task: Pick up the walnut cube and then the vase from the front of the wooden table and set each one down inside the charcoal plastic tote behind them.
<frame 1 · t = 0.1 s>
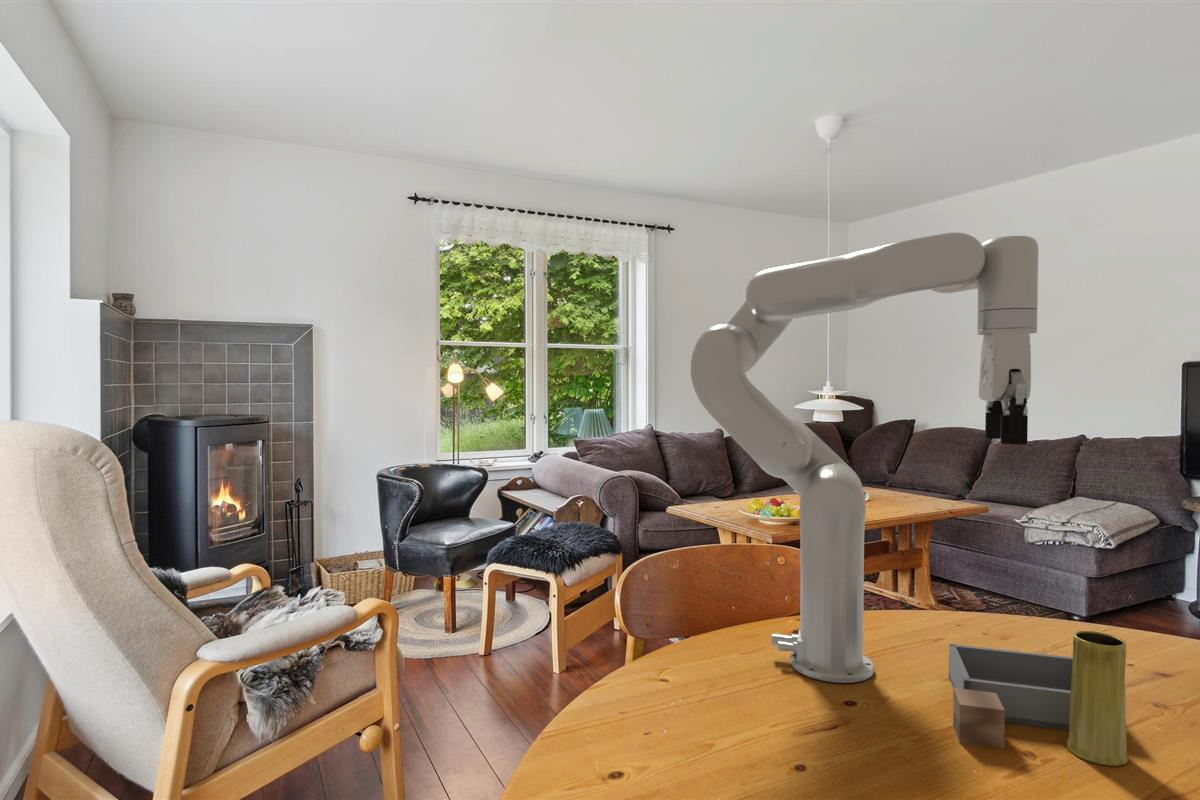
hand: (1005, 441, 102), 37 cm above the table, tool pointing down, fingers open, 9 cm apart
tote: (1025, 703, 98), on the table
vase: (1096, 755, 86), on the table
walnut cube: (977, 737, 90), on the table
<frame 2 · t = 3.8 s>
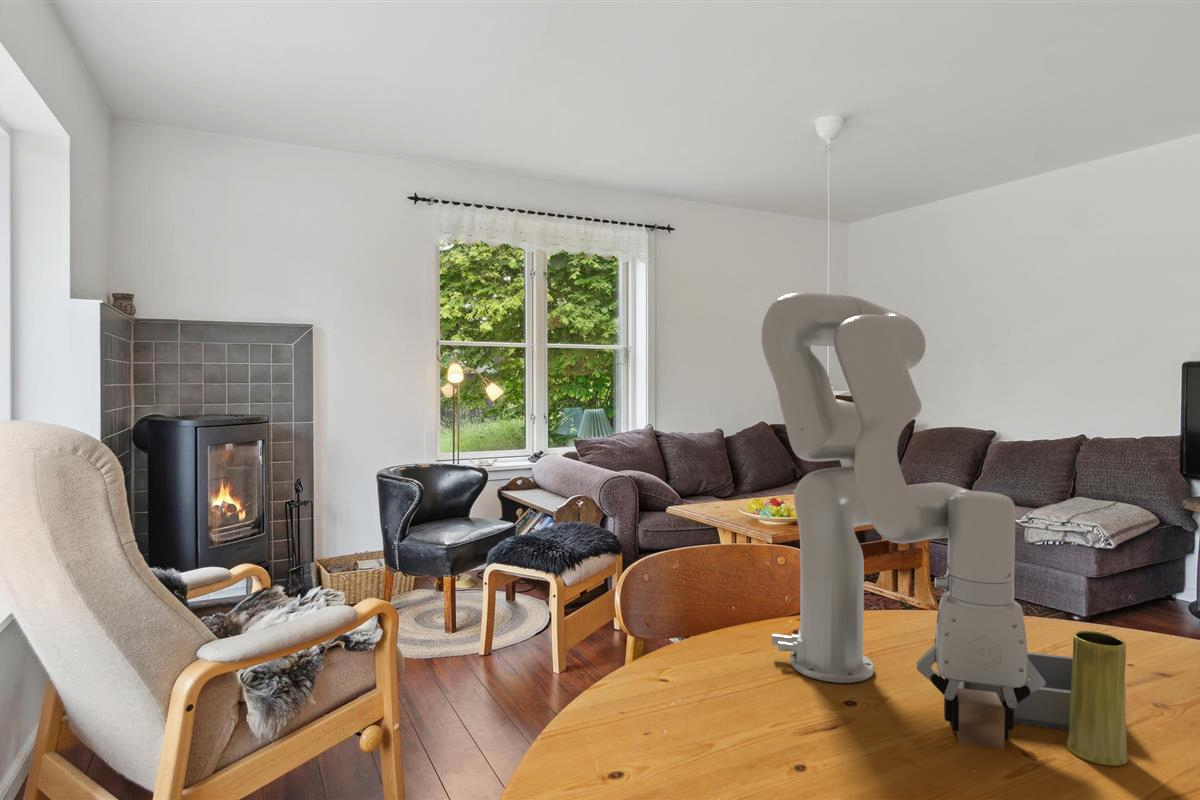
hand: (977, 728, 90), 1 cm above the table, tool pointing down, fingers closed on walnut cube, 5 cm apart
walnut cube: (977, 736, 90), on the table, touching gripper
everything else where it was.
when the fingers open (4 cm above the table, at t = 9.2 s): walnut cube drops 3 cm, resting on tote.
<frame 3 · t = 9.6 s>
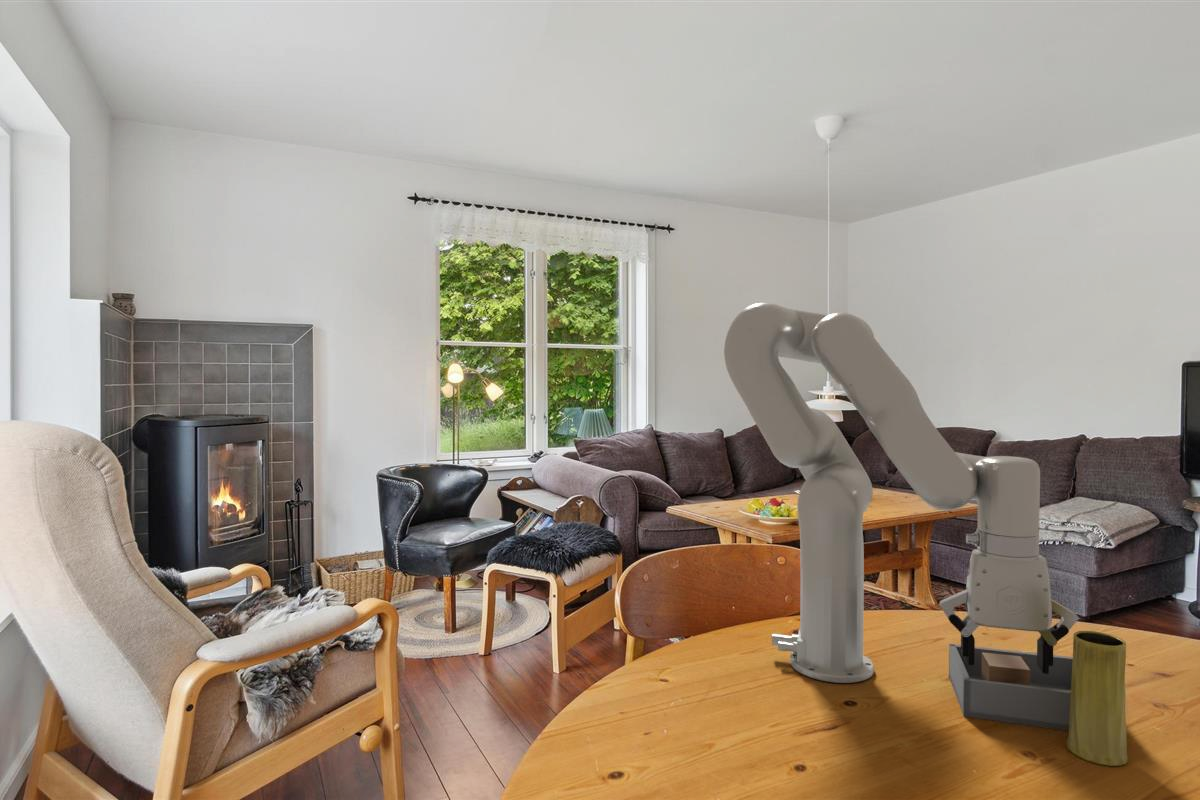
hand: (1005, 665, 99), 5 cm above the table, tool pointing down, fingers open, 8 cm apart
walnut cube: (1004, 695, 99), point 1 cm above the table, touching tote
everything else where it was.
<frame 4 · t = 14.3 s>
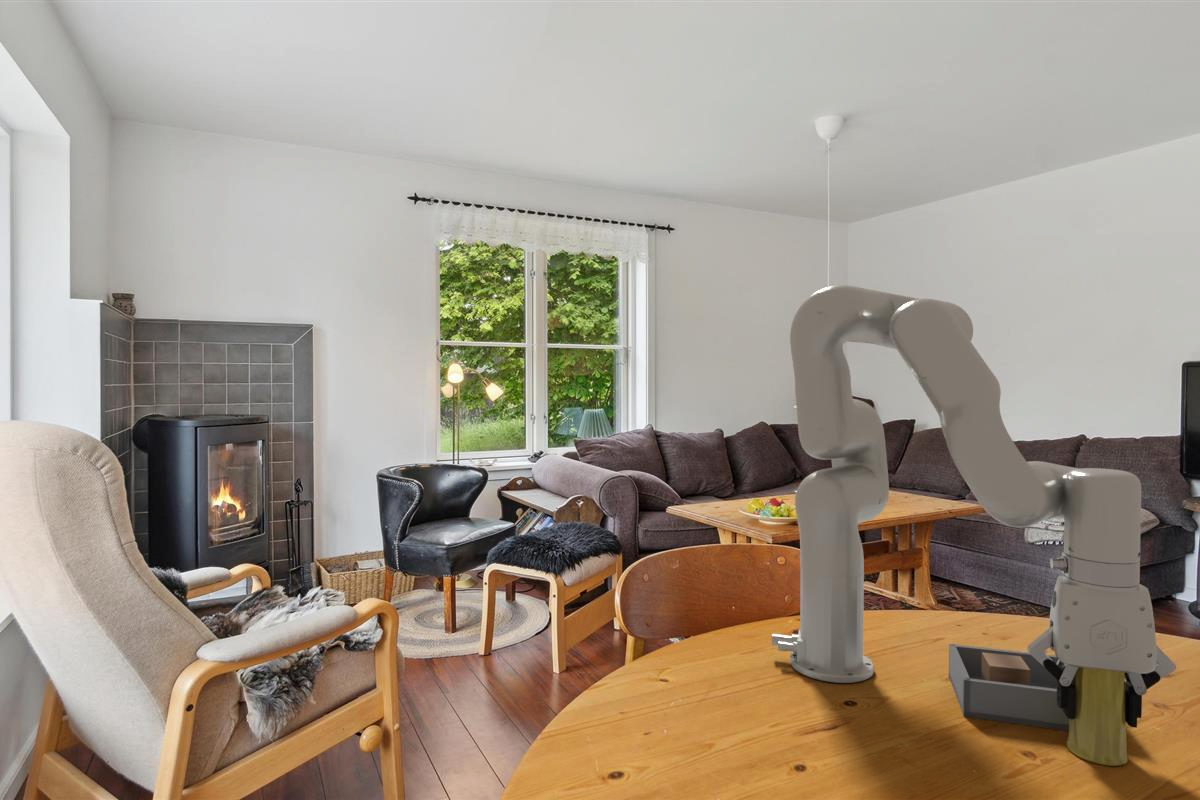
hand: (1097, 716, 85), 5 cm above the table, tool pointing down, fingers closed on vase, 5 cm apart
vase: (1096, 754, 86), on the table, touching gripper
everything else where it was.
when the fingers open (7 cm above the table, at t = 19.5 s): vase drops 1 cm, resting on tote.
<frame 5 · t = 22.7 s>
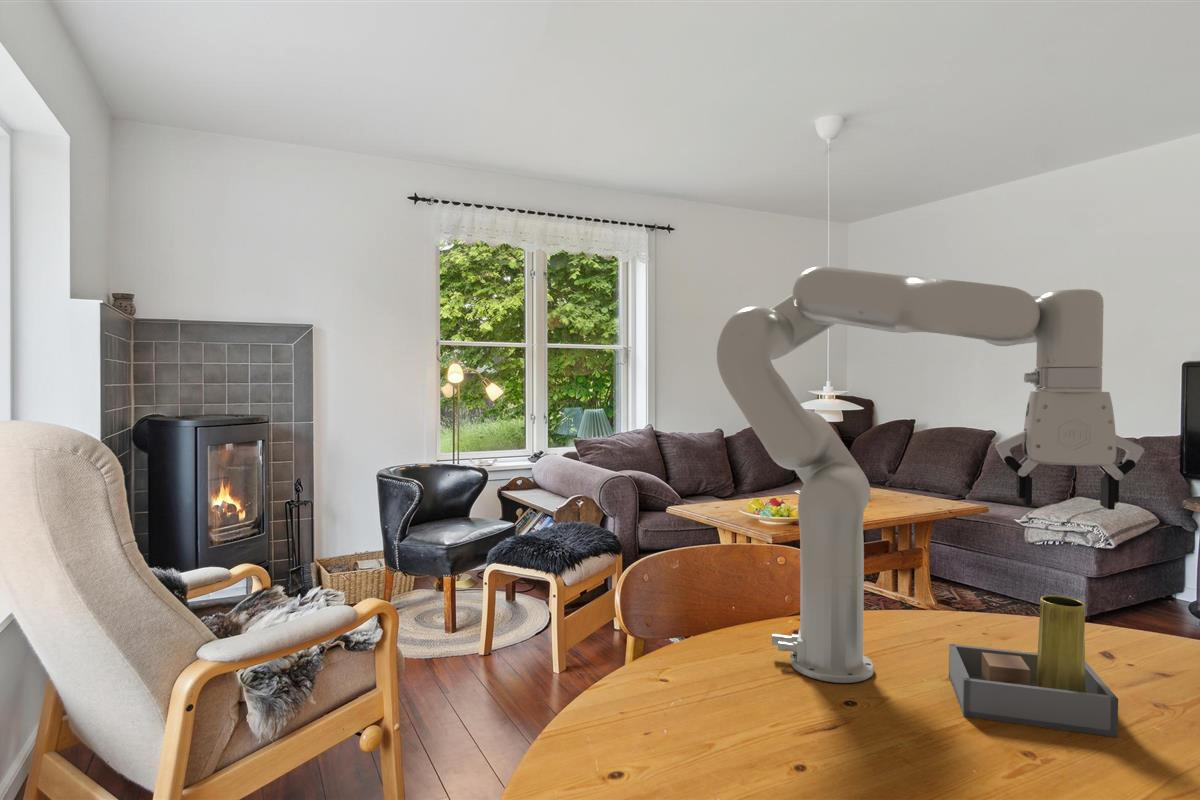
hand: (1065, 505, 96), 28 cm above the table, tool pointing down, fingers open, 9 cm apart
vase: (1060, 704, 97), point 1 cm above the table, touching tote
everything else where it was.
at the end: walnut cube inside the target area on the tote (2.6 cm from its centre), point 0.8 cm above the tote's base; vase inside the target area on the tote (4.3 cm from its centre), point 0.6 cm above the tote's base; vase tilted 0° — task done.
